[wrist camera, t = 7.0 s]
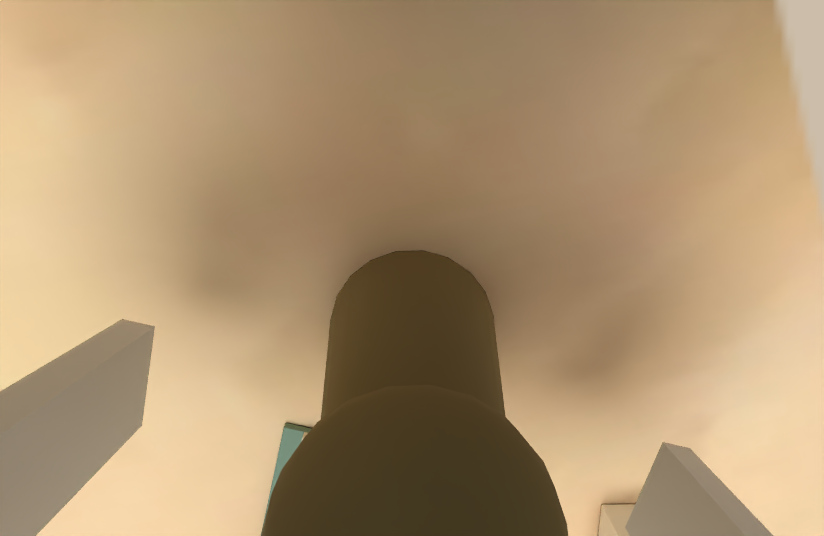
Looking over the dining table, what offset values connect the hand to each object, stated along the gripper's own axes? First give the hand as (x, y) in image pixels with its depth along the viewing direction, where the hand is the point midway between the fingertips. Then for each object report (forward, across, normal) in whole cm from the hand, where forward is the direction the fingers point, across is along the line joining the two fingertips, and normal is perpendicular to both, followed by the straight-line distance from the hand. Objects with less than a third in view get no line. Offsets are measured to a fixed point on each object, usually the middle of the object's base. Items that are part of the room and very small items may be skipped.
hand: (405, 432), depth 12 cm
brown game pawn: (+6, 0, 0) cm, 6 cm away
